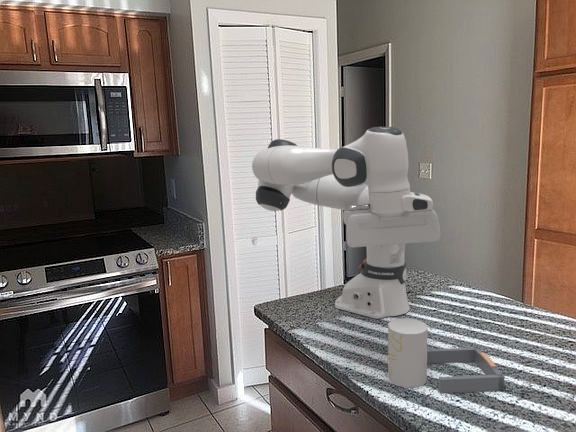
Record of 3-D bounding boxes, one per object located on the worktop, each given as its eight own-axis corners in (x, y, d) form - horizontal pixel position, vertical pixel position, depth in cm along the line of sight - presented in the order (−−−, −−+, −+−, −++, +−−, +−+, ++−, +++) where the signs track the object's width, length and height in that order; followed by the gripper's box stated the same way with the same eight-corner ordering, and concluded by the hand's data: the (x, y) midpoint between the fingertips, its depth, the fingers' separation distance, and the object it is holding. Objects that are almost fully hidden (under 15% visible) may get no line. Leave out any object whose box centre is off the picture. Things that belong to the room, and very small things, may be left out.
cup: (386, 367, 104) (386, 318, 102) (422, 368, 103) (423, 318, 101) (390, 387, 96) (390, 333, 94) (430, 388, 95) (431, 334, 93)
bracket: (440, 393, 93) (440, 377, 92) (421, 361, 106) (421, 347, 105) (503, 390, 93) (504, 374, 92) (477, 359, 106) (477, 345, 105)
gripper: (341, 209, 98) (347, 270, 100) (440, 200, 95) (443, 264, 97) (342, 203, 104) (347, 261, 107) (435, 195, 101) (437, 255, 104)
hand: (394, 262), depth 102 cm, fingers closed
